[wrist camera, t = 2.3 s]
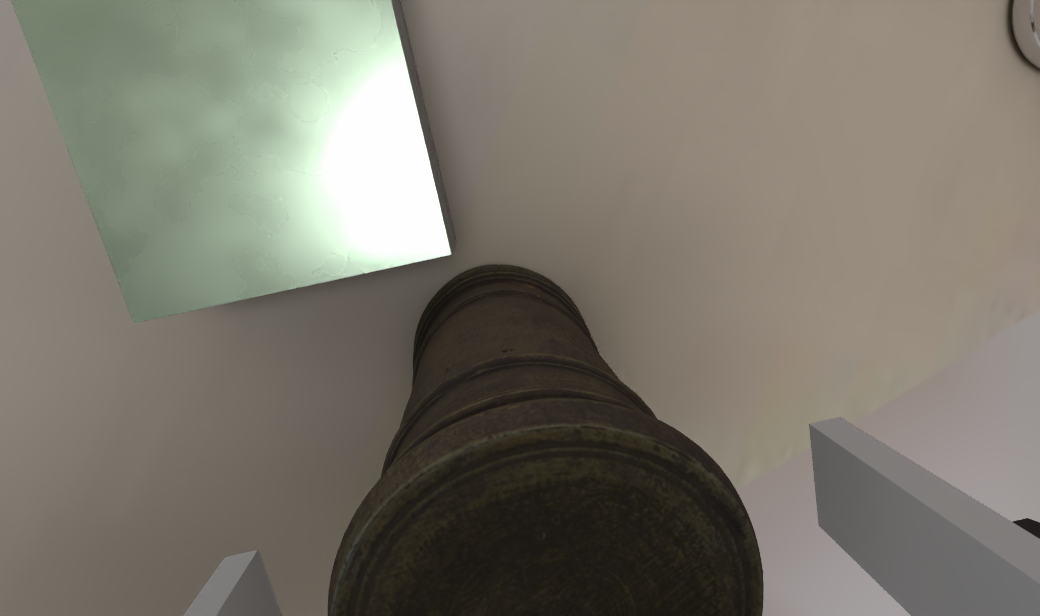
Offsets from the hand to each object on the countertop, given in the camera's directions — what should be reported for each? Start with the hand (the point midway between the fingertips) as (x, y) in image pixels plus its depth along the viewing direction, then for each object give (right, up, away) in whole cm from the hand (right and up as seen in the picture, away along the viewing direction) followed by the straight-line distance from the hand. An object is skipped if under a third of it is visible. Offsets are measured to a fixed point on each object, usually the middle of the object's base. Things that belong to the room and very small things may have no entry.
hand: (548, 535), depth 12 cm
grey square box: (-11, +13, +12) cm, 21 cm away
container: (-2, +3, +15) cm, 16 cm away
